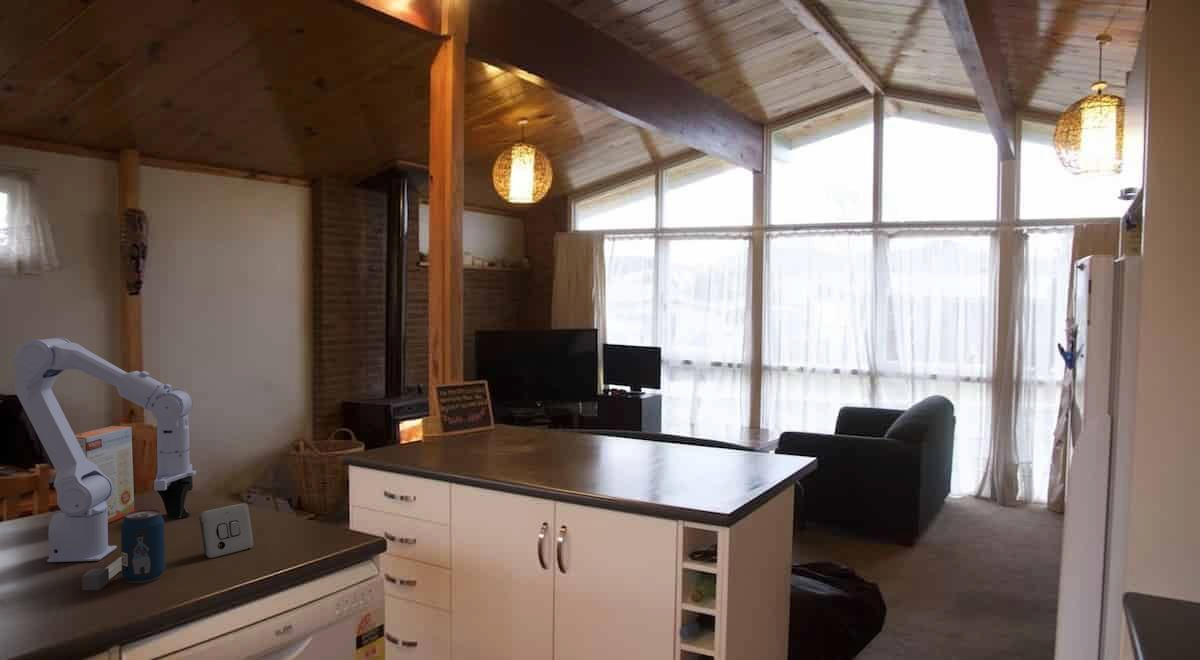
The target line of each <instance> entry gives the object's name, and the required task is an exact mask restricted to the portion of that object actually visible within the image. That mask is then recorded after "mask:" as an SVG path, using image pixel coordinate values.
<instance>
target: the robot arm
mask: <svg viewBox="0 0 1200 660" xmlns="http://www.w3.org/2000/svg"><path fill="white" fill-rule="evenodd" d="M11 362H12V363H13V365H14V367H15V373H14V375H15V376H14V390H15V391H14V392H15V394H16V396H17V398H18V400H19V402H20V404H21V406H22V408H23V410H24V411H25V414H26V415H27V418H28V419H29V421H30V423H31V425H32V427H33V429H34V431H35V432H36V435H37V437H38V439H39V441H40V442H41V444H42V446H43V448H44V450H45V452H46V454H47V456H48V457H49V460H50V462H51V464H52V465H53V468H54V469H55V471H56V475H55V479H54V482H53V487H54V488H55V490H56V494H57V495H56V503H57V506H58V508H59V509H60V510H61V512H60V511H59V512H56V513H54V514H53V515H52V517H50V521H49V524H48V559H46V562H47V563H64V562H65V563H66V562H67V563H69V562H70V563H71V562H94V561H95V562H96V561H97V562H98V561H100V560H101V559H103V558H105V557H106V556H108V555H109V554H110V553H112V552H113V551H114V550H116V549H117V547H118V545H109V533H108V532H109V531H108V529H109V525H108V524H109V523H108V517H107V502H106V500H107V499H108V498H109V497H110V496H111V494H112V491H113V485H112V482H111V480H110V479H109V478H108V477H107V476H105V475H104V474H103V473H102V472H101V471H100V470H99V468H98V466H97V465H96V464H94V463H92V462H90V461H89V460H87V458H86V456H85V454H84V452H83V450H82V448H81V447H80V445H79V443H78V441H77V439H76V437H75V435H76V434H75V433H74V430H73V429H72V428H71V425H70V423H69V421H68V419H67V418H66V417H67V416H65V414H64V412H63V409H62V408H61V405H60V403H59V402H58V400H57V398H56V396H55V394H54V392H53V390H52V387H53V386H54V385H55V382H56V380H57V379H58V377H59V375H60V374H62V373H63V372H64V371H65V370H78V371H80V372H82V373H85V374H87V375H89V376H91V377H93V378H96V379H98V380H100V381H103V382H104V383H106V384H109V385H111V386H113V387H116V390H117V393H118V395H119V396H120V397H122V398H123V399H125V400H128V401H129V402H131V403H133V404H135V405H138V406H139V407H142V408H143V409H145V410H147V411H151V414H152V416H153V417H154V419H156V426H157V427H156V444H157V447H156V448H157V450H156V453H157V454H156V456H157V457H156V458H157V473H156V475H155V476H156V477H155V479H154V480H153V490H154V492H155V491H156V492H157V493H158V494H159V496H160V497H161V500H162V503H163V504H164V505H163V506H164V509H165V512H166V516H167V517H168V518H167V519H178V518H179V517H181V515H182V512H183V507H185V502H186V499H187V494H188V493H189V491H188V490H189V488H190V486H191V484H192V482H193V478H192V479H184V478H185V477H188V476H192V477H193V476H195V475H196V474H197V470H193V464H192V463H191V461H190V453H191V452H190V425H189V424H190V423H189V421H190V418H189V417H190V415H189V413H190V412H191V410H192V409H193V407H194V401H193V398H192V396H191V394H189V393H188V392H187V391H186V390H184V389H183V388H172V387H173V386H172V385H171V384H169V383H165V384H164V383H163V382H160V381H158V380H156V379H154V378H153V377H150V372H148V371H145V370H143V371H139V370H133V371H129V372H127V371H125V370H123V369H121V368H119V367H118V366H116V365H114V364H112V363H111V362H110V361H107V360H106V359H104V358H102V357H100V356H99V355H97V354H95V353H93V352H91V351H89V350H88V349H87V348H85V347H83V346H82V345H81V344H79V343H77V342H73V341H70V340H69V339H67V338H65V337H60V336H55V337H51V338H45V339H29V340H27V341H24V342H23V343H22V344H21V345H19V347H18V348H17V350H16V352H15V353H14V355H13V357H12V359H11ZM181 518H182V517H181ZM179 519H180V518H179Z"/></svg>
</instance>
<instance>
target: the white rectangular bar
mask: <svg viewBox="0 0 1200 660" xmlns="http://www.w3.org/2000/svg"><path fill="white" fill-rule="evenodd" d="M119 572H122V555H121V556H120V557H118V558H117V559H116V560H115V561H113V562H111V563H110V564H109V565H107V566H106V567H104V568H103V567H102V568H90V570H88V571H87V572H85V573H84V574H83V575H82V576H81V589H82V590H81V591H99V590H101V589H102V588H104V587H105V586H106V585H108V584H109V583H110V579H112V578H113V577H114V576H115V575H117V574H118V573H119Z"/></svg>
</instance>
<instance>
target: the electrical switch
mask: <svg viewBox="0 0 1200 660" xmlns="http://www.w3.org/2000/svg"><path fill="white" fill-rule="evenodd" d="M198 519H199V526H200V533H201V538H202V539H201V540H202V545H203V553H204V555H206V557H207V558H209V559H212V558H217V557H220V556H225V555H228V554H232V553H236V552H240V551H245V550H248V548H249V549H251V548H253V546H254V538H253V530H252V525H251V518H250V511H249V505H248V504H247V503H239V504H234V505H228V506H224V507H223V506H222V507H220V508H215V509H208V510H204V511H202V512H201V514H200V516H199V517H198Z"/></svg>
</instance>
